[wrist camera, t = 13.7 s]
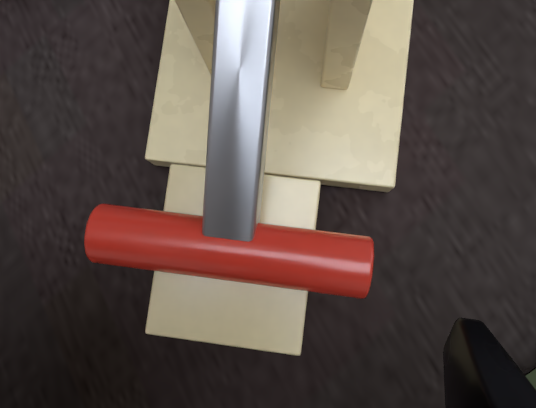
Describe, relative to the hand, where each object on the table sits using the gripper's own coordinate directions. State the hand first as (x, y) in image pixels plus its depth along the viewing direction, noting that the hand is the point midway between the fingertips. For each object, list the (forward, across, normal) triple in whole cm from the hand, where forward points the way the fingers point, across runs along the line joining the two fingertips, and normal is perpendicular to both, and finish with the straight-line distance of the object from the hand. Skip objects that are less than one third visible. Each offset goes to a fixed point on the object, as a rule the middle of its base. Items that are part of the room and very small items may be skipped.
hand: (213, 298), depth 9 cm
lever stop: (+7, 0, +6) cm, 9 cm away
